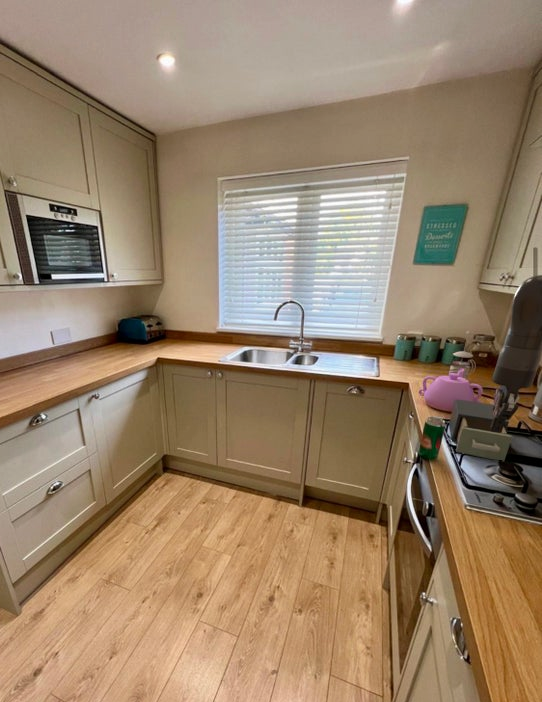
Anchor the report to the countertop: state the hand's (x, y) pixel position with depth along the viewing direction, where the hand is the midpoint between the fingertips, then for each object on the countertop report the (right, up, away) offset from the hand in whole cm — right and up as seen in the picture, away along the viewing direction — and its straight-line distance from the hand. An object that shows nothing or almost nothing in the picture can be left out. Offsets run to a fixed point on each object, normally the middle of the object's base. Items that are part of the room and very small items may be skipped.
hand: (495, 430), depth 84 cm
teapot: (+21, +6, +51) cm, 55 cm away
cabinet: (+13, -4, +25) cm, 28 cm away
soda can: (-10, -9, +13) cm, 19 cm away
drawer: (+7, -7, +15) cm, 18 cm away
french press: (+44, +16, +78) cm, 91 cm away
